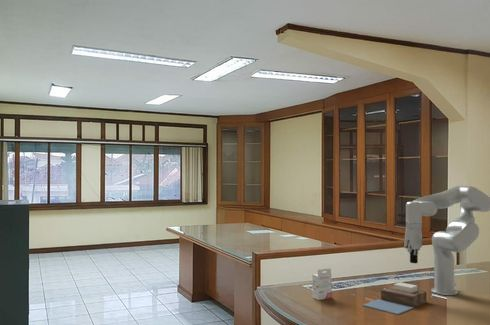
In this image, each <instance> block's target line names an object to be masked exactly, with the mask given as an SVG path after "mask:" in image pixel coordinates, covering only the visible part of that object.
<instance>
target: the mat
mask: <svg viewBox="0 0 490 325" xmlns="http://www.w3.org/2000/svg"><path fill="white" fill-rule="evenodd" d="M362 307H365V308H371V309H373V310H378V311H381V312H385V313H389V314H393V315H397V316H398V315H401V314H404V313H406V312H409V311H412V310H413V309H415V308H414V307H410V306H406V305H401V304H397V303H393V302H389V301H384V300H381V298H380V299H379V298H378V299H376V300H375V299H374V300H371V301H369V302H367V303H364V304H362Z"/></svg>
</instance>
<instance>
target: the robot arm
mask: <svg viewBox="0 0 490 325" xmlns="http://www.w3.org/2000/svg"><path fill="white" fill-rule="evenodd" d="M457 204H459V214H458V215H457V216H456V217H455V218H454V219H453V220H452V221H450V223H449V224H448V225H447V227H446V229H445V230H444V231H443V230H439V231H436V232H434V233H433V234H432V237H431V244H432V245H431V246H432V250H433V257H434V258H433V262H434V263H433V266H434V267H433V275H434V283H433V284H434V287H432V288H431V290H430V291H431V292H432V293H434V294H435V295H436V294H437V295H443V296H456V295H458V294H459V291H458V290H457V289H455V287H456V286H457V283H456V282H455V257H454V255H453V252H454V253H462V252H464V251H466V250H467V249H468V248H469V247H470V246H471V245H472V244H473V243H474V242H476V240H477V239H478V237H479V234H480V227H479V225H478V224H477V223H476V222H475V219H476V218H475V216H474V212H481V213H486V212H488V213H489V212H490V196H489V195H487V194H486V193H485V192H483V191H481V189H478V188H477V187H476V186H472V185H458V186H453V187H452V188H451V187H450V188H449V189H446V190H443V191H441V192H437V193H433V194H429V195H425V196H422V197H419V198H416V199H414V200H412V201H407V202H406V203H405V232H404V242H403V243H404V244H403V246H404V248H405V250H407V252H408V253H409V262H410V263H411V264H418V261H419V260H418V256H419V251H420V250H421V248H423V234H422V230H423V228H422V227H423V221H422V220H423V218H422V217H423V216H424V217H433V216H434V215H436V214H437V213H438V209H439V210H440V209H441V210H442V209H448V208H450V207H453V206H454V205H457Z"/></svg>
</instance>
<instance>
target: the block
mask: <svg viewBox="0 0 490 325" xmlns="http://www.w3.org/2000/svg"><path fill="white" fill-rule="evenodd" d="M393 286H394V289H395V290H399V291H404V292H409V293H413V292H416V291H417V290H418V285H416V284H411V283H405V282H401V281H400V282H397V283H393Z"/></svg>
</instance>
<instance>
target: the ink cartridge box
mask: <svg viewBox="0 0 490 325" xmlns="http://www.w3.org/2000/svg"><path fill="white" fill-rule="evenodd" d="M311 276H312V277H311V278H312V281H311V282H312V283H311V285H312V298H313V299H315V300H318V301H320V300H321V301H322V300H326V299H332V298H333V294H332V291H333V290H332V289H333V288H332V287H333V286H332V284H333V283H332V269H331V267H329V268H323V269H322V268H321V269H317V273H314V274H311Z"/></svg>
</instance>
